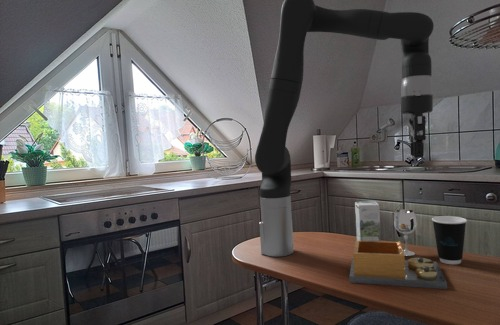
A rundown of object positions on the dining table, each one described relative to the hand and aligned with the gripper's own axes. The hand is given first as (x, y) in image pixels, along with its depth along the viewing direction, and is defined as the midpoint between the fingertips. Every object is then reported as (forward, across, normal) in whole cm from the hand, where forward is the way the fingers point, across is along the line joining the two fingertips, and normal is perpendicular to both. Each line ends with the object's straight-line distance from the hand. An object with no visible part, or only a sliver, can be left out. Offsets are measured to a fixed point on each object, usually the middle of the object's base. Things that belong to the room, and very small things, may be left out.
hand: (416, 156), depth 94 cm
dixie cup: (+27, +2, +8) cm, 28 cm away
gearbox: (+28, +14, -6) cm, 32 cm away
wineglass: (+28, -3, -2) cm, 28 cm away
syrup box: (+28, -3, -12) cm, 31 cm away
